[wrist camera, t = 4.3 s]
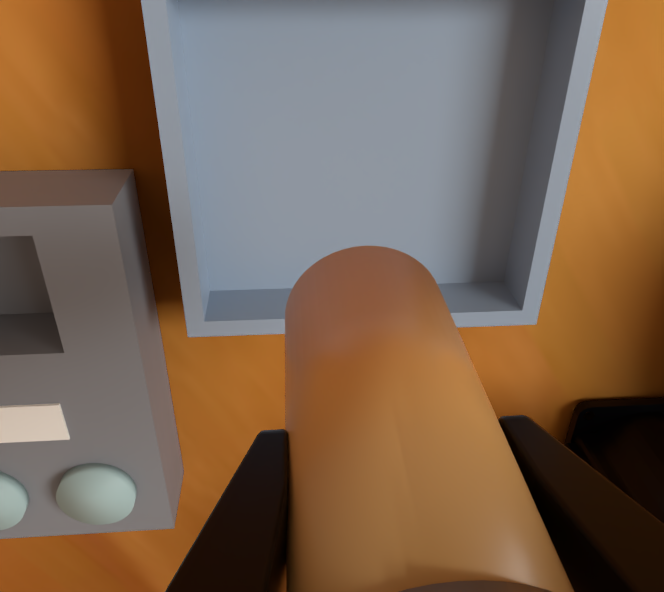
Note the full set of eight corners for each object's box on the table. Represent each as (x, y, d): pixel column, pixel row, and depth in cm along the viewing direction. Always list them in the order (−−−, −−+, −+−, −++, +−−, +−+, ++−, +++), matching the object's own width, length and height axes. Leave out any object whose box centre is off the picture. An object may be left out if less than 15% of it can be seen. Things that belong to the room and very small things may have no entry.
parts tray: (574, -39, 18) (615, -35, 15) (512, 288, 23) (536, 324, 21) (153, -42, 17) (135, -37, 15) (196, 298, 22) (187, 337, 20)
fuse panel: (133, 168, 20) (107, 211, 17) (183, 471, 27) (172, 539, 24) (-158, 173, 19) (-239, 219, 16) (-26, 482, 26) (-65, 553, 23)
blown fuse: (455, 236, 11) (711, 686, 5) (440, 379, 13) (612, 857, 6) (274, 244, 11) (261, 722, 4) (284, 387, 13) (286, 889, 6)
